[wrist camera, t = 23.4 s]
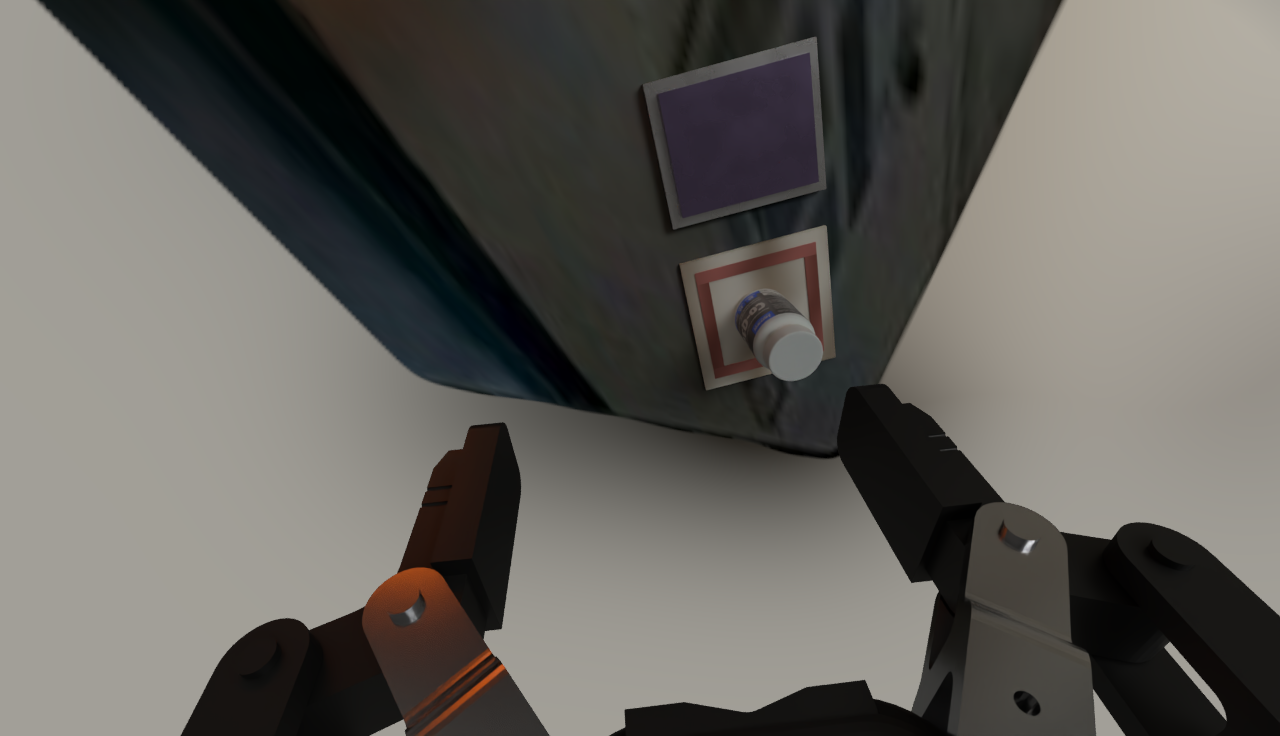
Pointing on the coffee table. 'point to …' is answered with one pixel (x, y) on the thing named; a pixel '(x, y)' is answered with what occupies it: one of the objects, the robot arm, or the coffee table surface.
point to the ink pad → (739, 133)
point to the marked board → (734, 274)
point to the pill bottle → (778, 335)
